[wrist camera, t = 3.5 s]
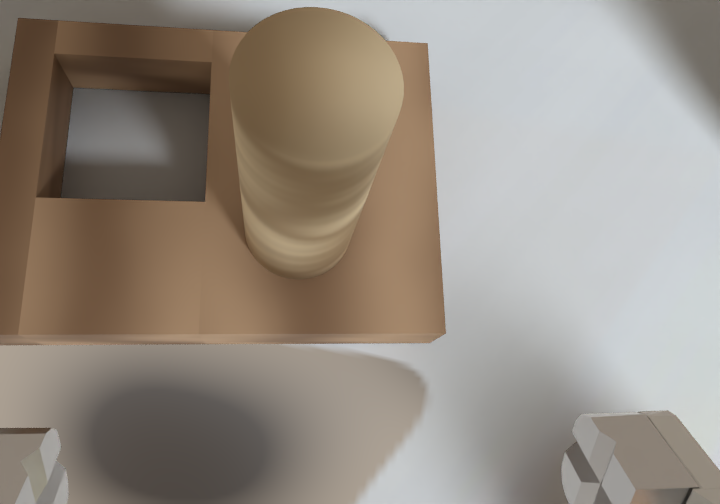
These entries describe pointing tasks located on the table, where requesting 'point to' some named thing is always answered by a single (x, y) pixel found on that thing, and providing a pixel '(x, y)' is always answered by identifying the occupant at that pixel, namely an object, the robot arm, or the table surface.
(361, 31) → the pin
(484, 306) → the table surface
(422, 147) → the pin board
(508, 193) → the table surface
